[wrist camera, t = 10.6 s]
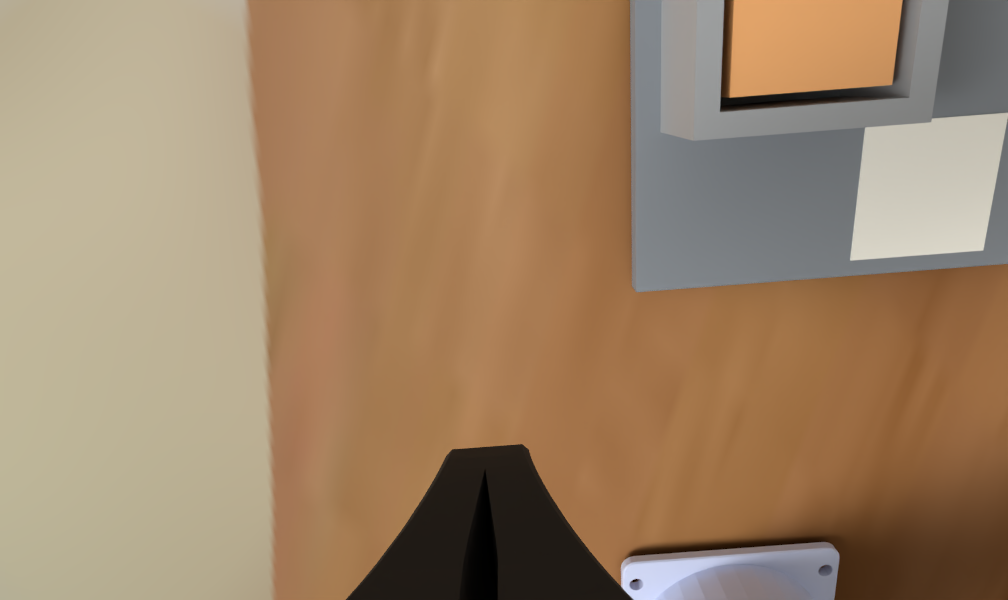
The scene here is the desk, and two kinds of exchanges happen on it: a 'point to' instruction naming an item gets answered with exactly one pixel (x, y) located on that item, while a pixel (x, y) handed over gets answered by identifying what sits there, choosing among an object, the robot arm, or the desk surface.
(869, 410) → the desk surface
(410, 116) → the desk surface
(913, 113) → the grey sorting board
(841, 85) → the button
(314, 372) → the desk surface
